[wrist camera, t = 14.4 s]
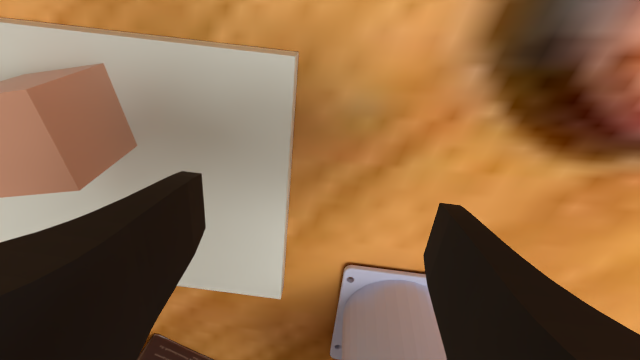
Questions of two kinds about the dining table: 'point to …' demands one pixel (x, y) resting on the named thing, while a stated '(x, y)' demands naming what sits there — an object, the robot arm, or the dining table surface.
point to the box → (168, 351)
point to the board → (180, 140)
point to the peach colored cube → (59, 130)
